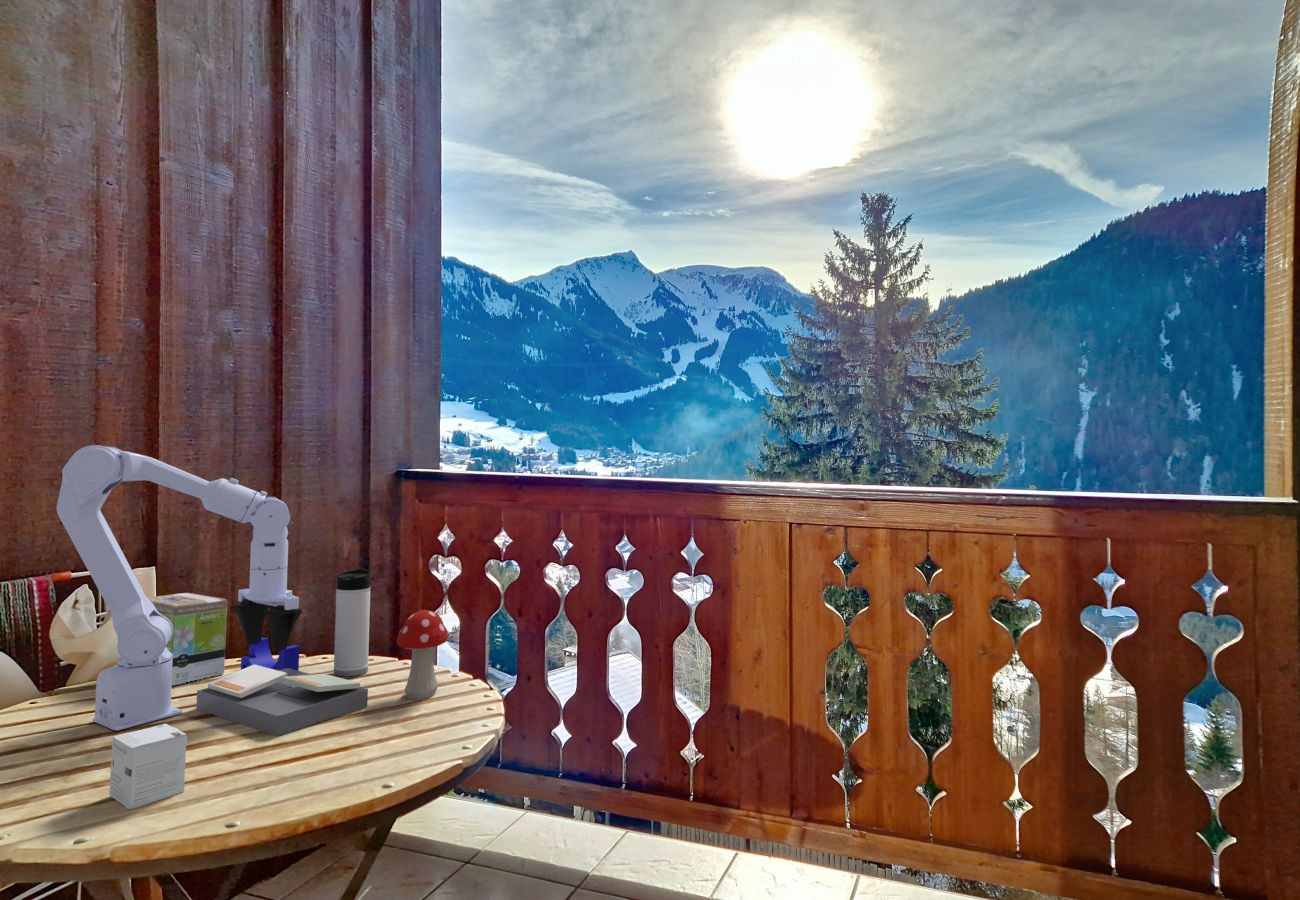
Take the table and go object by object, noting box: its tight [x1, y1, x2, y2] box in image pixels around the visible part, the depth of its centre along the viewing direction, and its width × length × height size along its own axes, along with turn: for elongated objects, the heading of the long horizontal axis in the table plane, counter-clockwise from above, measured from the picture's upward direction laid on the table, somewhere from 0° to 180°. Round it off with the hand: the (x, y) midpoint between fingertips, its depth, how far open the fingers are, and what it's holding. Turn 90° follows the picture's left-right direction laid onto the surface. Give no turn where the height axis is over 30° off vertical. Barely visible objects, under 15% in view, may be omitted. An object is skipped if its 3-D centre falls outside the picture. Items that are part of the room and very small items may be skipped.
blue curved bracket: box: [240, 637, 300, 671], centre depth 138 cm, size 12×4×6 cm, turn 59°
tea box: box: [146, 592, 228, 687], centre depth 136 cm, size 15×10×15 cm
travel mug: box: [333, 568, 371, 678], centre depth 140 cm, size 6×7×20 cm
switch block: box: [195, 668, 369, 737], centre depth 121 cm, size 22×22×3 cm
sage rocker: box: [281, 673, 361, 692], centre depth 118 cm, size 8×10×1 cm
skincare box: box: [109, 723, 188, 810], centre depth 87 cm, size 6×6×7 cm
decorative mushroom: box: [396, 609, 449, 701], centre depth 127 cm, size 10×9×15 cm
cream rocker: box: [207, 664, 288, 698], centre depth 119 cm, size 8×10×1 cm
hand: (266, 647), depth 121 cm, fingers open, 7 cm apart
